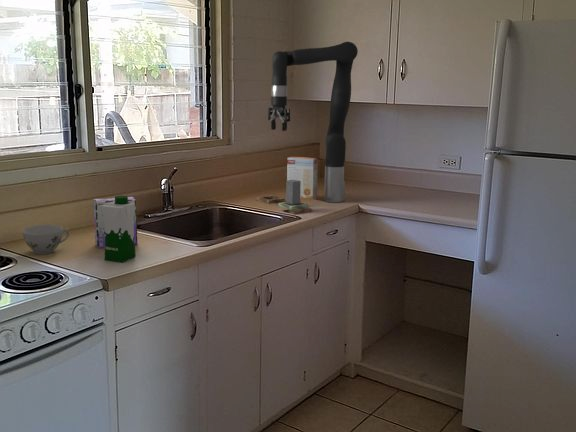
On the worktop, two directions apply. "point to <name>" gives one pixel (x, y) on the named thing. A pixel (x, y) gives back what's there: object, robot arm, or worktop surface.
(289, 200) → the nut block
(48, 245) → the teacup
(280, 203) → the olive flat piece
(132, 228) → the milk carton
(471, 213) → the worktop surface
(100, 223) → the candy box
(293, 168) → the cracker box
